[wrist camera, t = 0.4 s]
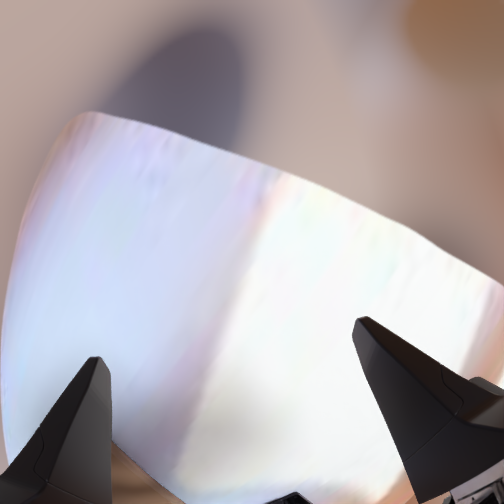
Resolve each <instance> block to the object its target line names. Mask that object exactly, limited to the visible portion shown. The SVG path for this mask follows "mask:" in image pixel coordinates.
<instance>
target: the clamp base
mask: <svg viewBox="0 0 504 504" xmlns="http://www.w3.org/2000/svg"><path fill="white" fill-rule="evenodd" d="M111 483H112V503H113V504H185V503H184V502H183V501H181V500H180V499H179V498H177V497H176V496H174V495H173V494H172V493H170V492H169V491H168V490H167V489H165V488H164V487H163V486H162V485H160V484H159V483H158V482H157V481H155V480H154V479H153V478H152V477H150V476H149V475H148V474H147V473H146V472H145V471H143V470H142V469H141V468H140V467H139V466H138V465H137V464H136V463H134V462H133V461H132V460H131V459H130V458H129V457H128V456H127V455H126V454H125V453H124V452H123V451H122V450H121V449H120V448H119V447H118V446H117V445H116V444H115V443H114V442H113V441H112V440H111Z"/></svg>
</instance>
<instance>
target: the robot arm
mask: <svg viewBox="0 0 504 504" xmlns="http://www.w3.org/2000/svg"><path fill="white" fill-rule="evenodd" d="M352 339H353V342H354V345H355V348H356V351H357V354H358V357H359V360H360V363H361V366H362V369H363V372H364V374H365V377H366V379H367V381H368V383H369V386H370V388H371V390H372V392H373V394H374V397H375V399H376V401H377V403H378V406H379V408H380V410H381V412H382V415H383V417H384V419H385V422H386V424H387V426H388V428H389V431H390V433H391V436H392V438H393V440H394V443H395V445H396V447H397V450H398V452H399V455H400V457H401V460H402V462H403V465H404V467H405V470H406V472H407V475H408V477H409V480H410V483H411V485H412V488H413V490H414V493H415V495H416V498H417V501H418V503H419V504H422V503H424V502H426V501H428V500H431V499H433V498H435V497H437V496H440V495H442V494H444V493H446V492H448V491H450V494H451V495H450V496H448V497H447V498H446V499H444V502H443V504H504V396H503V395H497V394H494V393H492V392H490V391H488V390H486V389H484V388H482V387H480V386H478V385H476V384H474V383H472V382H470V381H469V380H467V379H465V378H463V377H461V376H459V375H458V374H456V373H455V372H453V371H451V370H450V369H448V368H447V367H445V366H444V365H442V364H441V365H440V363H439V362H437V361H436V360H434V359H433V358H431V357H430V356H428V355H427V354H425V353H424V352H422V351H421V350H419V349H418V348H416V347H414V346H413V345H411V344H410V343H408V342H407V341H405V340H404V339H402V338H401V337H399V336H398V335H396V334H394V333H393V332H391V331H390V330H388V329H387V328H385V327H384V326H382V325H381V324H379V323H378V322H376V321H374V320H373V319H371V318H370V317H368V316H364V317H360V318H357V319H356V321H355V325H354V329H353V332H352ZM111 431H112V399H111V374H110V371H109V369H108V367H107V366H106V364H105V363H104V361H103V359H102V358H101V357H99V356H96V357H90V358H88V360H87V361H86V362H85V364H84V365H83V366H82V367H81V369H80V370H79V371H78V373H77V374H76V375H75V377H74V378H73V379H72V381H71V382H70V383H69V385H68V386H67V388H66V389H65V390H64V392H63V393H62V394H61V396H60V397H59V399H58V400H57V401H56V403H55V404H54V406H53V407H52V408H51V410H50V411H49V413H48V414H47V416H46V417H45V418H44V420H43V421H42V423H41V424H40V427H38V429H37V430H36V431H35V433H34V434H33V436H32V437H31V439H30V440H29V442H28V443H27V444H26V446H25V447H24V448H23V449H22V451H21V452H20V453H19V454H18V456H17V457H16V458H15V459H14V461H13V462H12V463H11V464H10V466H9V467H8V468H7V469H6V471H5V472H4V473H3V474H1V475H0V504H113V503H112V483H111ZM270 504H312V503H311V502H310V501H308V500H307V499H306V498H305V497H303V496H302V495H301V494H300V493H298V492H296V493H293V494H290V495H288V496H286V497H284V498H281V499H279V500H277V501H274V502H272V503H270Z"/></svg>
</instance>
